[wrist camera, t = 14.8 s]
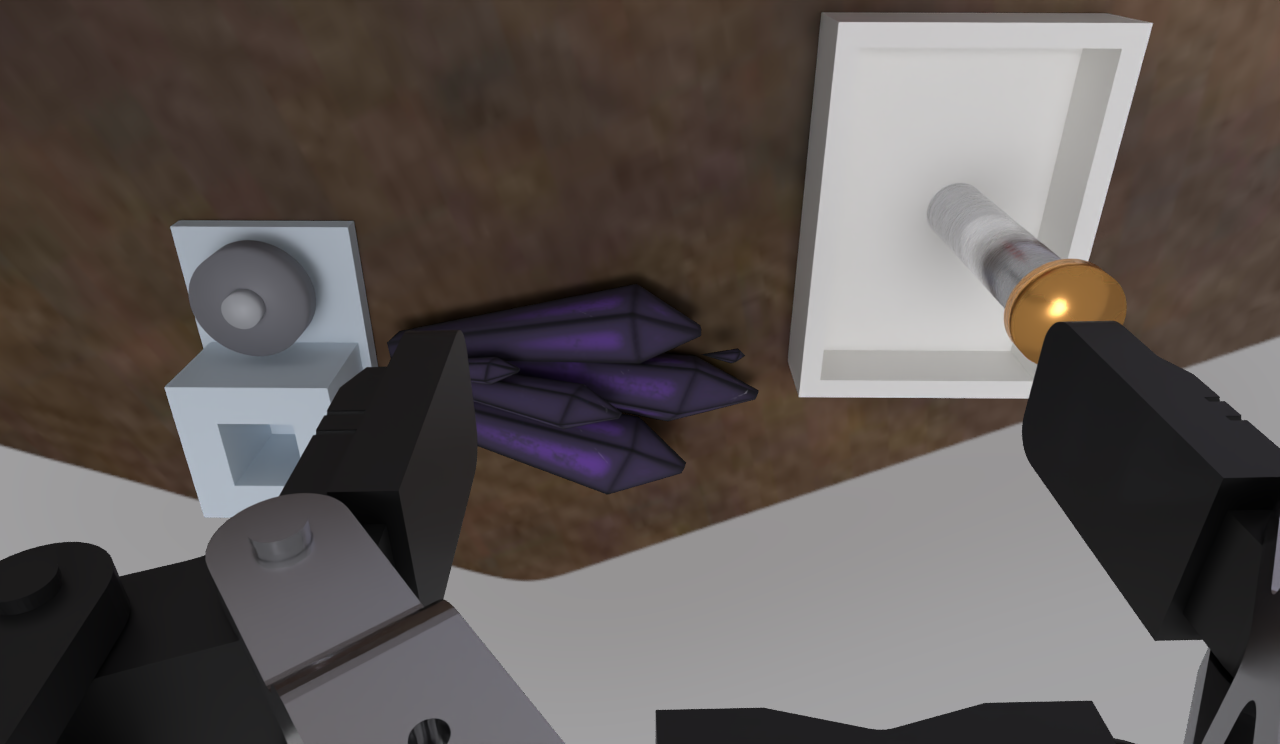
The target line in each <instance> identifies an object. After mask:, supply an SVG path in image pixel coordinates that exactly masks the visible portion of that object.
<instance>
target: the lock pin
mask: <svg viewBox="0 0 1280 744" xmlns="http://www.w3.org/2000/svg"><path fill="white" fill-rule="evenodd" d="M927 219H928V223H929V225H930V227H931V228H932V230H933V231H934V232H935V233H936V234H937V235H938V236H939V237H940V238H941V239H942V241H943V242H944V243H945V244H946V245H947V246H948V247H949V248H950V249H951V250H952V252H953V253H954V254H955V255H956V256H957V257H958V258H959V259H960V260H961V261H962V263H963V264H964V265H965V266H966V267H967V268H968V269H969V270H970V271H971V272H972V274H973V275H974V276H975V277H976V278H977V279H978V280H979V281H980V282H981V283H982V285H983V286H984V287H985V288H986V289H987V290H988V291H989V292H990V293H991V294H992V296H993V297H994V298H995V299H996V300H997V301H998V302H999V303H1000V304H1001V305H1002V307H1003V308H1004V309H1005V310H1004V326H1005V330H1006V333H1007V335H1008V337H1009V338H1010V340H1011V341H1012V342H1013V343H1014V345H1015V346H1016V347H1017V348H1018V349H1019V350H1020V352H1021V353H1022V354H1023V355H1024V356H1025V357H1026V358H1027V359H1029V360H1030V361H1032V362H1034V363H1036V364H1038V360H1039V357H1040V353H1041V349H1042V345H1043V341H1044V338H1045V336H1046V333H1047V331H1048V330H1049V328H1050V327H1051V326H1052V325H1053V324H1055V323H1056V322H1067V321H1116V322H1119V323H1120V324H1121V325H1123V323H1124V320H1125V316H1126V308H1127V306H1126V298H1125V294H1124V292H1123V290H1122V288H1121V286H1120V285H1119V284H1118V282H1117V281H1116V280H1115V279H1113V278H1112V277H1111V276H1110V275H1108V274H1107V273H1106V272H1104V271H1103V270H1102V269H1101V268H1099V267H1098V266H1097V265H1095V264H1093V263H1091V262H1088V261H1085V260H1081V259H1061V258H1060V257H1058V256H1057V255H1056V254H1055V253H1054V252H1052V251H1051V250H1050V249H1049V248H1048V247H1046V246H1045V245H1044V244H1043V243H1041V242H1040V241H1039V240H1038V239H1037V238H1035V237H1034V236H1033V235H1032V234H1031V233H1029V232H1028V231H1027V230H1026V229H1025V228H1023V227H1022V226H1021V225H1020V224H1019V223H1017V222H1016V221H1015V220H1014V219H1013V218H1011V217H1010V216H1009V215H1008V214H1007V213H1005V212H1004V211H1003V210H1002V209H1000V208H999V207H998V206H997V205H996V204H994V203H993V202H992V201H991V200H990V199H988V198H987V197H986V196H985V195H984V194H982V193H981V192H980V191H979V190H978V189H976V188H975V187H974V186H972V185H969V184H966V183H955V184H951V185H948V186H946V187H944V188H942V189H941V190H940V191H938V192H937V193H936V194H935V196H934V197H933V198H932V200H931V202H930V204H929V206H928V210H927Z"/></svg>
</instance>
